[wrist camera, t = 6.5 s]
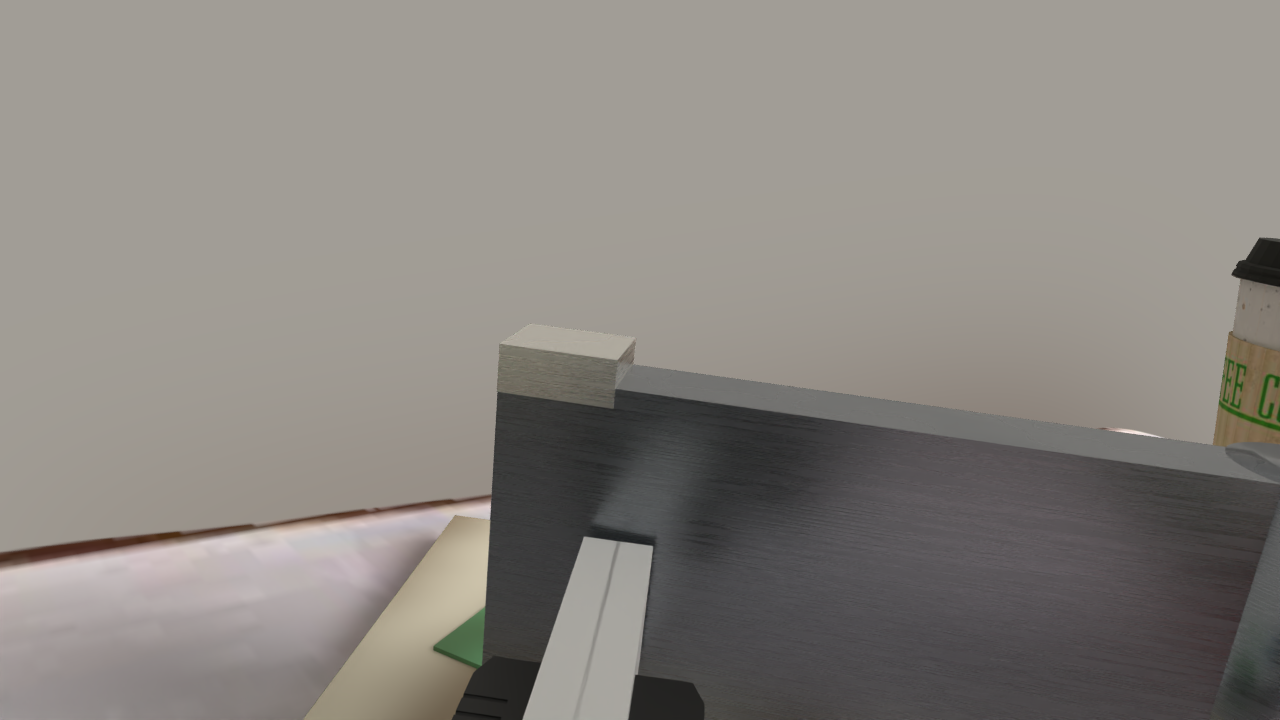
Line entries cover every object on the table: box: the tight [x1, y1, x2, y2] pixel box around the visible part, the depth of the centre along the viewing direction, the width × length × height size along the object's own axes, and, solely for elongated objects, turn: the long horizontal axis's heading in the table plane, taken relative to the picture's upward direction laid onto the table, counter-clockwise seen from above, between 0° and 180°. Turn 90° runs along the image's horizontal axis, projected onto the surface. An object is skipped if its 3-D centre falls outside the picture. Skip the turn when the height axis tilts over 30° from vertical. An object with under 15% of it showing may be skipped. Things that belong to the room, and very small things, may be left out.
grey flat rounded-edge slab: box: [482, 324, 1280, 720], centre depth 18 cm, size 18×4×11 cm, turn 80°
